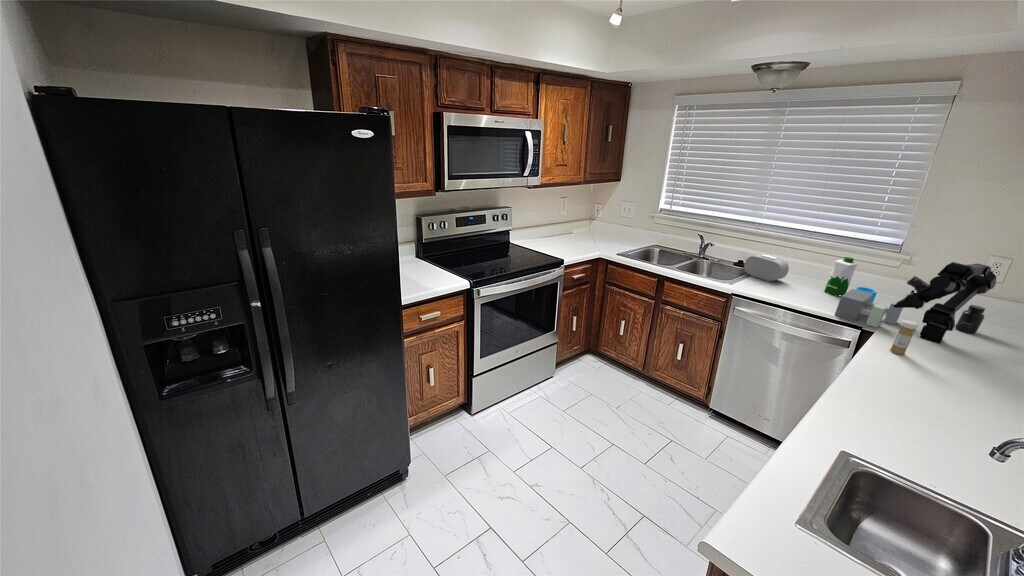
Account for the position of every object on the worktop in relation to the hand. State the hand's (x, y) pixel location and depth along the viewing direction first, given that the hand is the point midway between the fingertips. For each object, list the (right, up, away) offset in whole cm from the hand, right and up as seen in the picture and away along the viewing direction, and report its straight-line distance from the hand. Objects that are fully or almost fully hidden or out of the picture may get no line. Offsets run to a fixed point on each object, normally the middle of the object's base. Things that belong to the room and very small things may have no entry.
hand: (895, 305), depth 180 cm
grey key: (+5, -6, +16) cm, 18 cm away
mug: (+13, -1, +33) cm, 35 cm away
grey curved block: (-5, -5, +18) cm, 20 cm away
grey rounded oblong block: (-18, +13, +65) cm, 69 cm away
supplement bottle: (+38, -12, +6) cm, 40 cm away
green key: (-6, -8, +11) cm, 15 cm away
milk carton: (+8, +4, +45) cm, 46 cm away
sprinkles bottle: (-15, -18, -17) cm, 29 cm away
